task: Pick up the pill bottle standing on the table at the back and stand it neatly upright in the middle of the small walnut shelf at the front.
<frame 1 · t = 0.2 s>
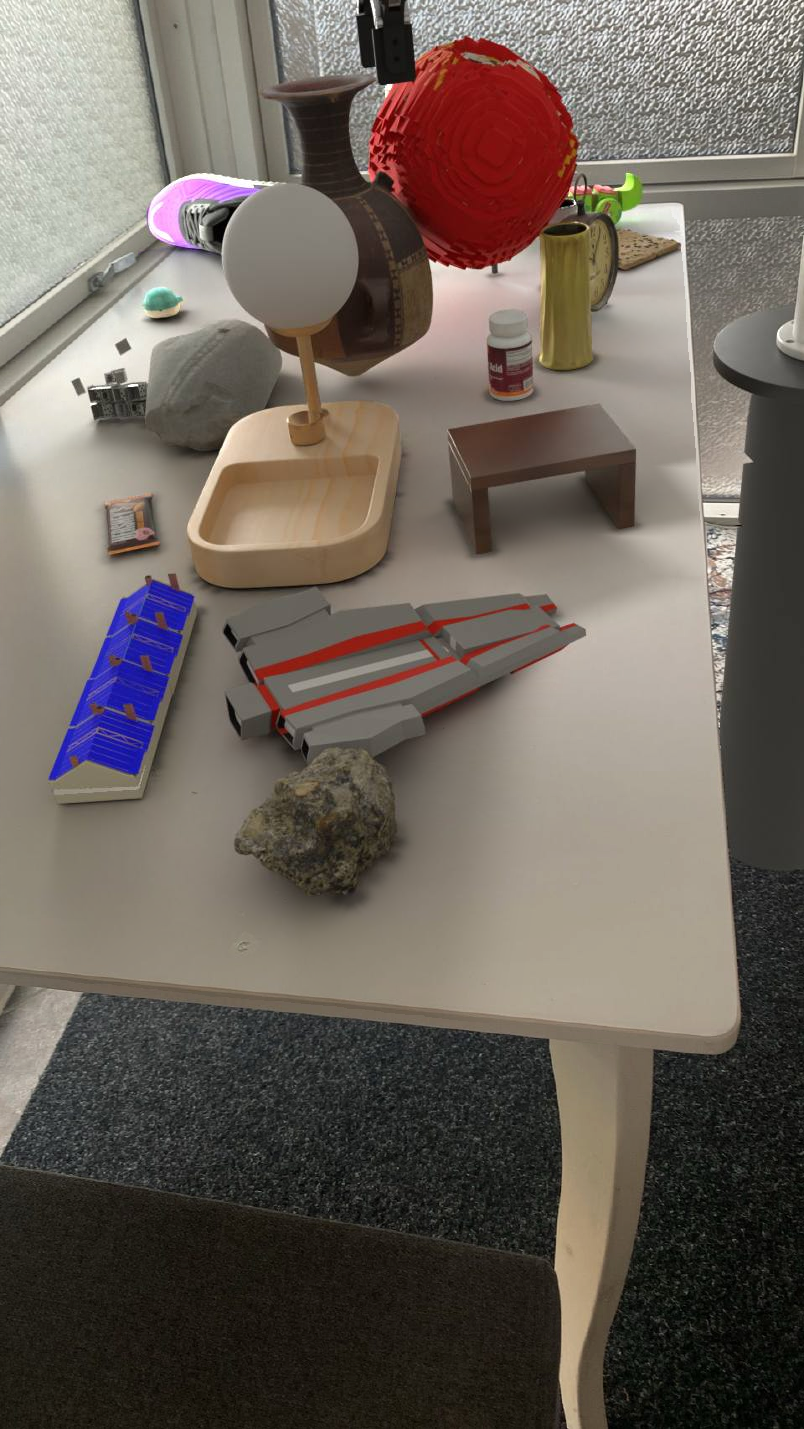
hand: (387, 74, 96), 33 cm above the table, tool pointing down, fingers open, 9 cm apart
alarm clock: (581, 318, 137), on the table
chocolate bar: (132, 527, 106), on the table
cookie: (620, 257, 156), on the table
toy spaceship: (409, 632, 80), point 4 cm above the table
shelf: (540, 513, 100), on the table
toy: (454, 166, 142), point 15 cm above the table, touching planter 2, vase 2
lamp: (307, 497, 107), on the table
toy crocodile: (576, 228, 166), on the table
vase: (566, 362, 127), on the table
whale figurine: (165, 313, 156), on the table
stone: (142, 378, 124), point 4 cm above the table
planter 2: (458, 265, 158), on the table, touching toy
pill bottle: (511, 395, 121), on the table
planter: (560, 288, 147), on the table
building: (136, 700, 84), on the table
running shoe: (238, 206, 177), point 5 cm above the table
house of cards: (103, 381, 124), point 5 cm above the table
vase 2: (357, 374, 130), on the table, touching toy
rock: (295, 896, 64), point 2 cm above the table
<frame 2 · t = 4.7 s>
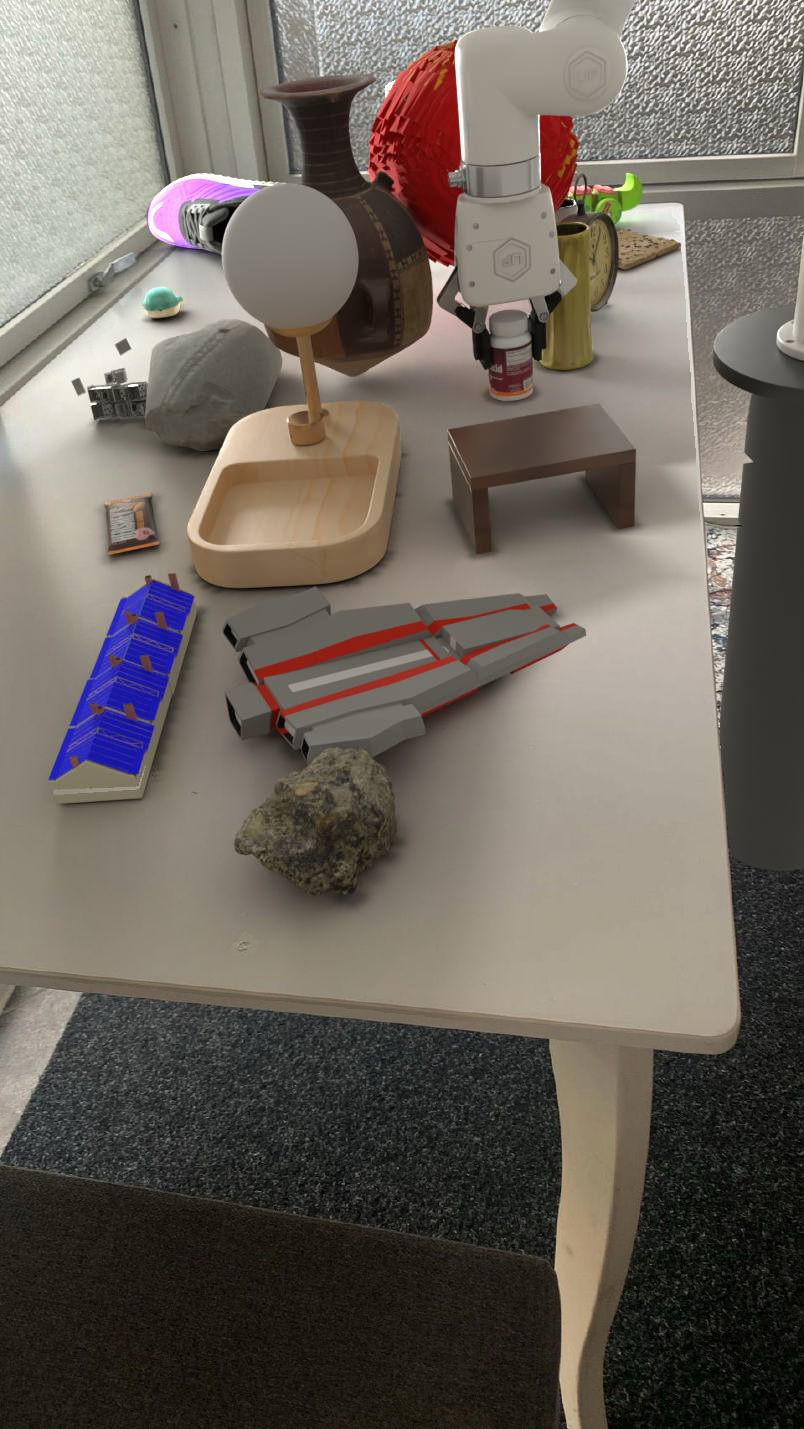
hand: (510, 359, 119), 4 cm above the table, tool pointing down, fingers closed on pill bottle, 4 cm apart
pill bottle: (511, 395, 121), on the table, touching gripper
everything else where it was.
when the fingers open (11 cm above the table, at t = 12.6 s): pill bottle stays where it is, resting on shelf.
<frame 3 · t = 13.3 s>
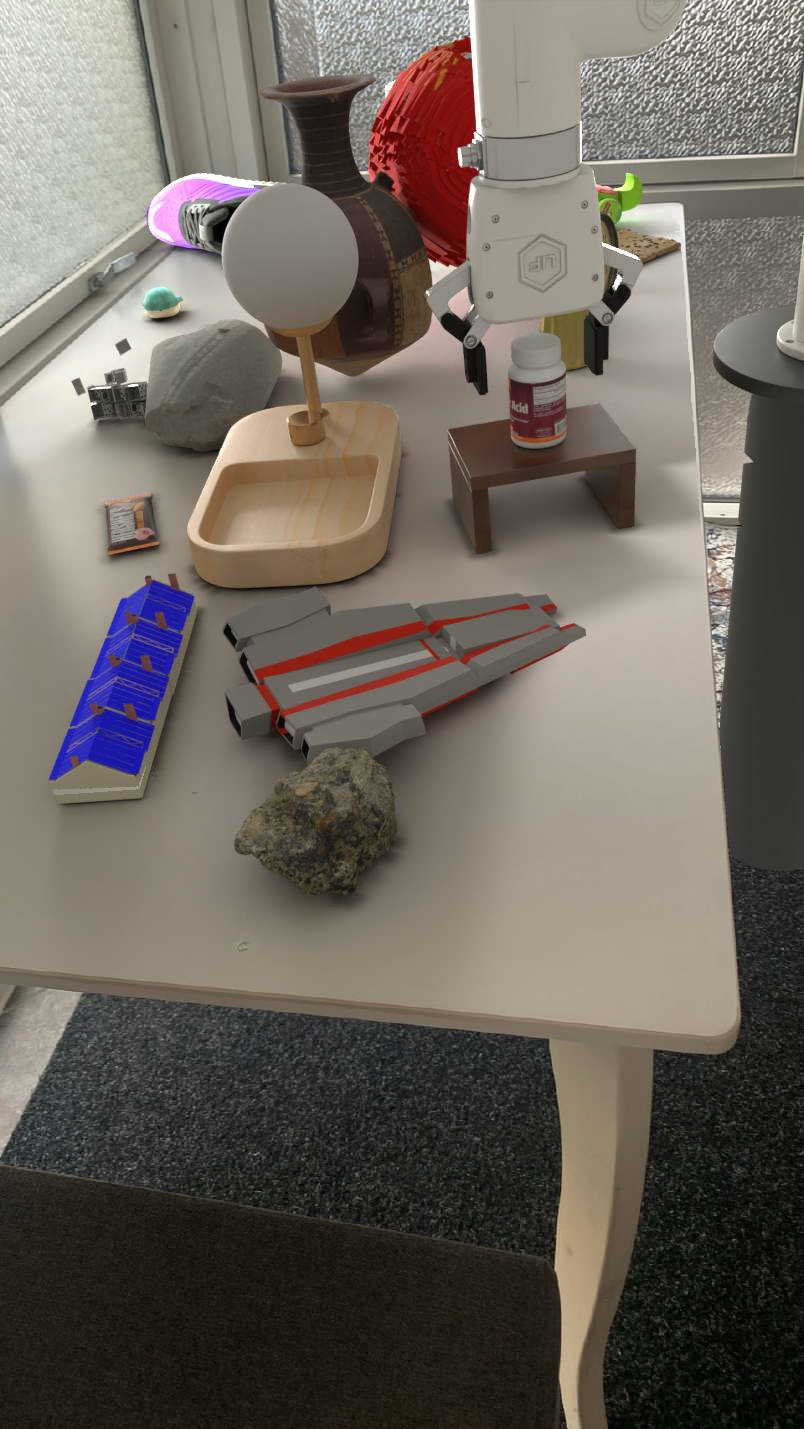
hand: (536, 379, 92), 12 cm above the table, tool pointing down, fingers open, 9 cm apart
pill bottle: (538, 440, 96), point 7 cm above the table, touching shelf
everything else where it was.
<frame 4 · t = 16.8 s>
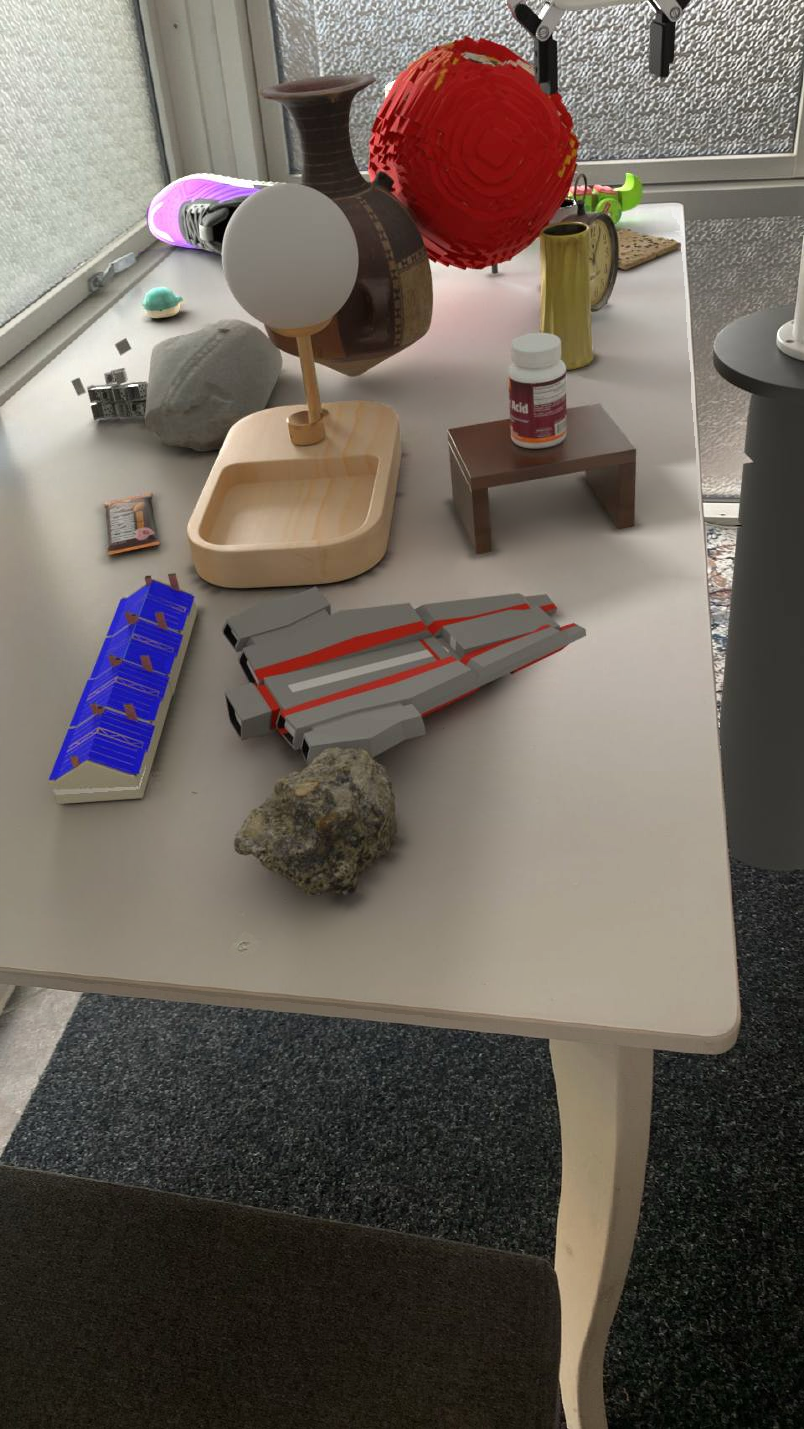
hand: (604, 83, 95), 30 cm above the table, tool pointing down, fingers open, 9 cm apart
nothing on the table moved.
at the end: pill bottle inside the target area on the shelf (0.1 cm from its centre), point 7.0 cm above the shelf's base; pill bottle tilted 0°; the gripper is holding nothing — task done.
